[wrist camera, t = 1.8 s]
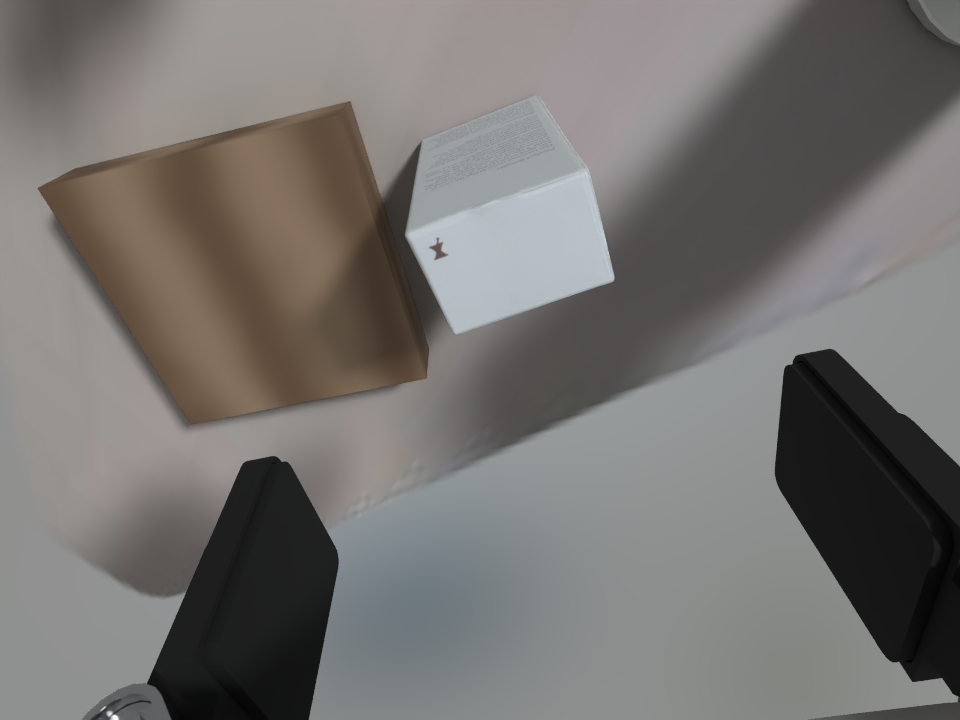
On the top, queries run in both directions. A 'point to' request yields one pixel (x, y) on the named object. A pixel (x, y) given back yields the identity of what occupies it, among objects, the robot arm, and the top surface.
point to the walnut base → (251, 264)
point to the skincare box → (505, 217)
